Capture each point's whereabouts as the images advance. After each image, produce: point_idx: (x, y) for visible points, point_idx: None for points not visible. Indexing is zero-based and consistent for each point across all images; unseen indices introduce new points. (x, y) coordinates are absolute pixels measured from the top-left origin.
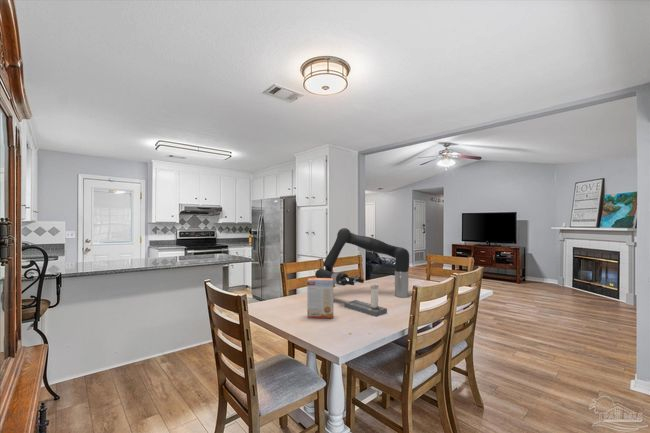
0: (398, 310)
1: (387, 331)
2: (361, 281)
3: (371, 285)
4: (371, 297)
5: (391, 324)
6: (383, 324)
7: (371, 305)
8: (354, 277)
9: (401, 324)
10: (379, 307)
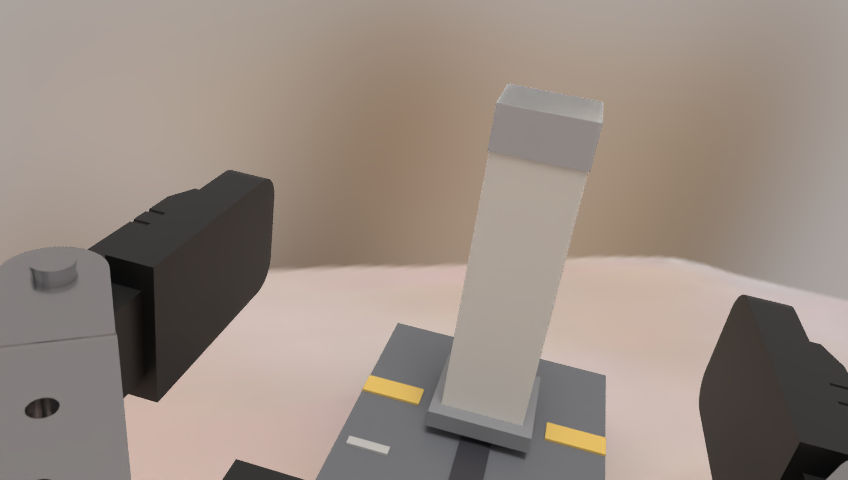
0: (245, 306)
1: (793, 303)
2: (242, 267)
3: (594, 119)
4: (552, 304)
5: (655, 302)
6: (710, 337)
7: (526, 405)
8: (82, 357)
9: (596, 265)
10: (412, 379)
